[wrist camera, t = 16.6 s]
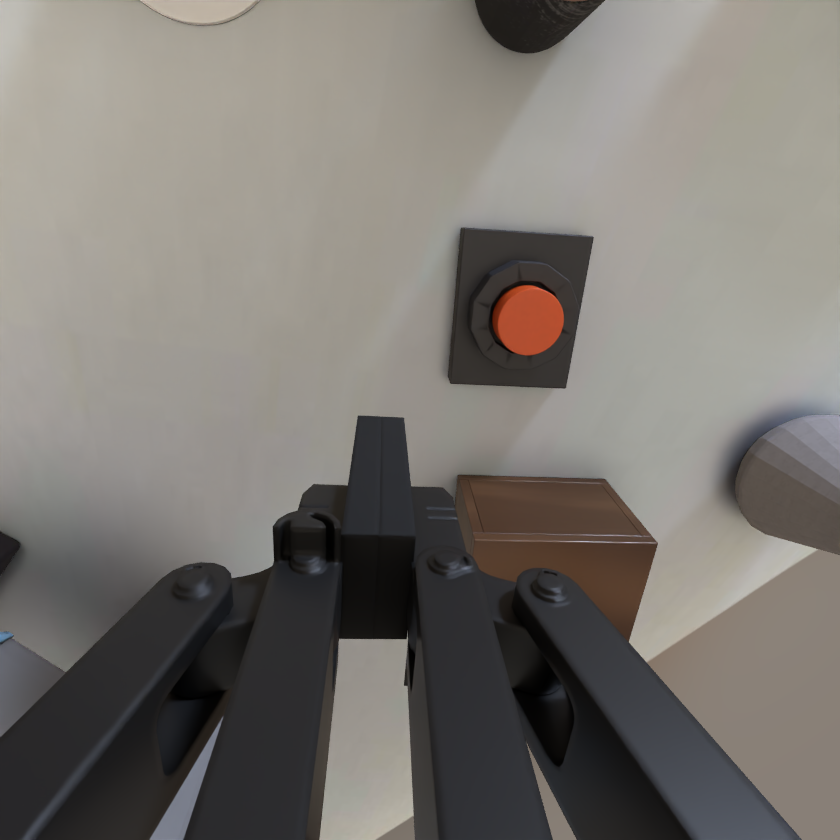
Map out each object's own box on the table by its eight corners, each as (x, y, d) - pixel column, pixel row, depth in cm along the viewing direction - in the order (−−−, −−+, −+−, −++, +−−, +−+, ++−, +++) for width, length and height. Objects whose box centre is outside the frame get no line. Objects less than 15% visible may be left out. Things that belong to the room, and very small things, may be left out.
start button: (549, 350, 35) (557, 357, 33) (488, 347, 34) (493, 354, 32) (559, 286, 33) (569, 290, 31) (496, 282, 33) (502, 286, 31)
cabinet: (574, 611, 48) (613, 695, 40) (443, 610, 47) (454, 696, 39) (605, 478, 42) (658, 543, 34) (457, 474, 42) (474, 539, 33)
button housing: (559, 382, 39) (574, 396, 36) (447, 377, 38) (452, 391, 35) (585, 235, 35) (604, 237, 31) (460, 227, 34) (468, 228, 31)
